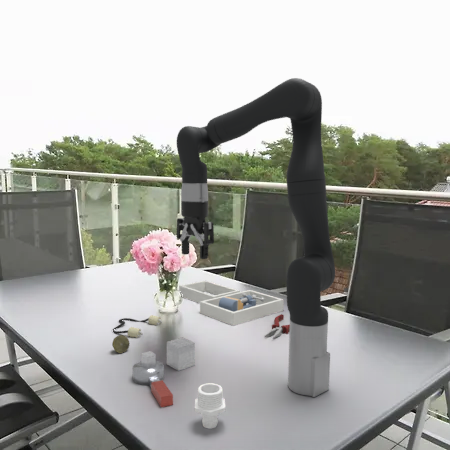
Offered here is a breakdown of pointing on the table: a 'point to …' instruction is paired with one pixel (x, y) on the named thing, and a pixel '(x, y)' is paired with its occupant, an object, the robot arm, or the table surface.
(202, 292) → the grey tray
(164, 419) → the table surface
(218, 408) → the pipe fitting
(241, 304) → the vise
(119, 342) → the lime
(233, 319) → the white tray
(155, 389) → the ratchet
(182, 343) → the pale grey cube
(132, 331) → the cable
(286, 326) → the pliers
